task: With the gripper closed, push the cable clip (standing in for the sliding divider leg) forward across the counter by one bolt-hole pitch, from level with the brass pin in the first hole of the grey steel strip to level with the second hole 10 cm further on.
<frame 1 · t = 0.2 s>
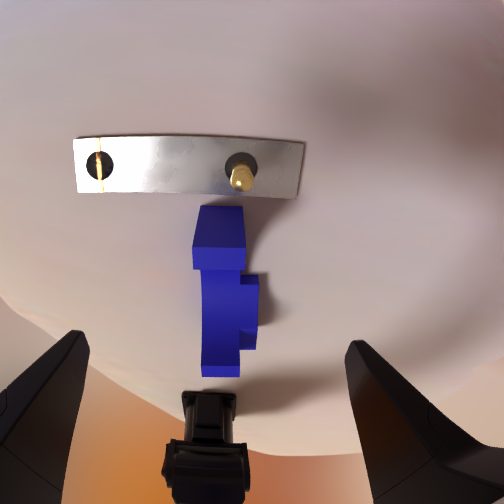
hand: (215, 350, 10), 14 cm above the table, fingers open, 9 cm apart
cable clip: (230, 271, 26), on the table
steel strip: (182, 163, 21), on the table
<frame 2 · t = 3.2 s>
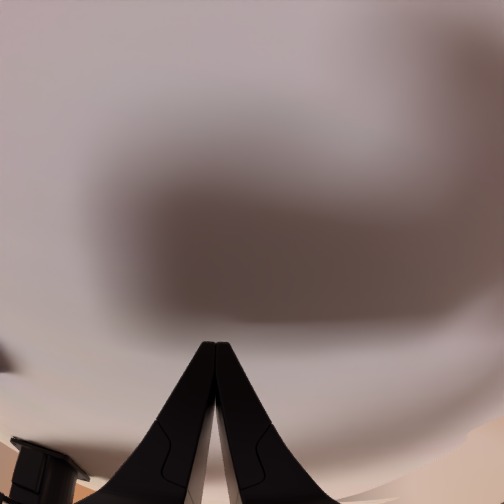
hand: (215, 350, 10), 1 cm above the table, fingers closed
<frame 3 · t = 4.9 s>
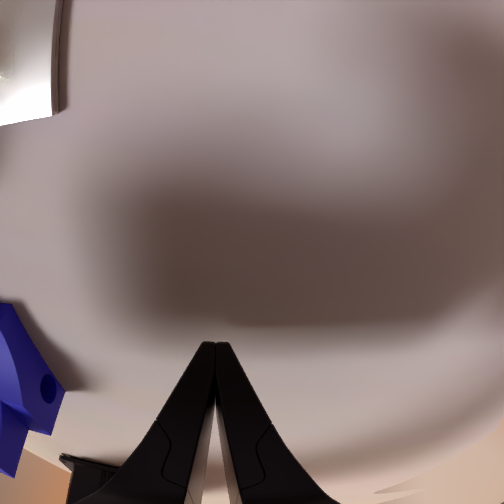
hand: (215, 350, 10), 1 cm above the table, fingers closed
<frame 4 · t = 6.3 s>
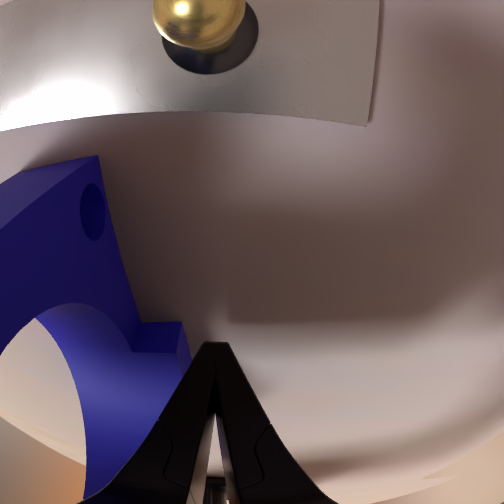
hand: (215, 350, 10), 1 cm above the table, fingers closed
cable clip: (124, 317, 11), on the table, touching gripper
steel strip: (62, 49, 6), on the table
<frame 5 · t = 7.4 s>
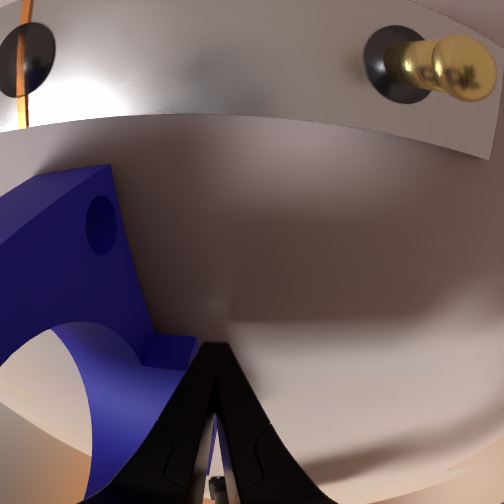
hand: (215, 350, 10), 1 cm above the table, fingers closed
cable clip: (138, 327, 11), on the table, touching gripper
steel strip: (245, 37, 6), on the table
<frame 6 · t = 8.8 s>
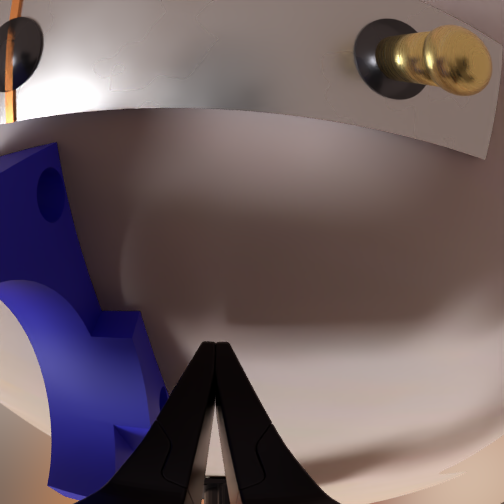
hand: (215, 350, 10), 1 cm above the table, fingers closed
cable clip: (87, 303, 11), on the table
steel strip: (231, 30, 6), on the table
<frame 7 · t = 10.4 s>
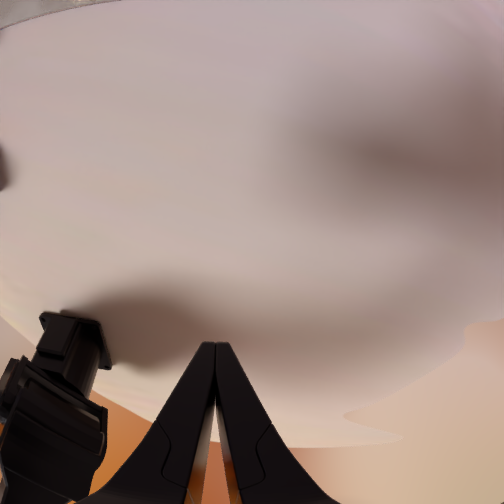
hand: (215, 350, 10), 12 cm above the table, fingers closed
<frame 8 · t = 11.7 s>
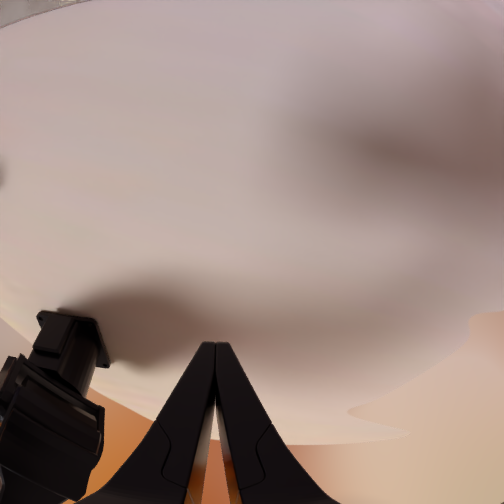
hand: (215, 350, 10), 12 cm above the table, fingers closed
steel strip: (9, 1, 10), on the table
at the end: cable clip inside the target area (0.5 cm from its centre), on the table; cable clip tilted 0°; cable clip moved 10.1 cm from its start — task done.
